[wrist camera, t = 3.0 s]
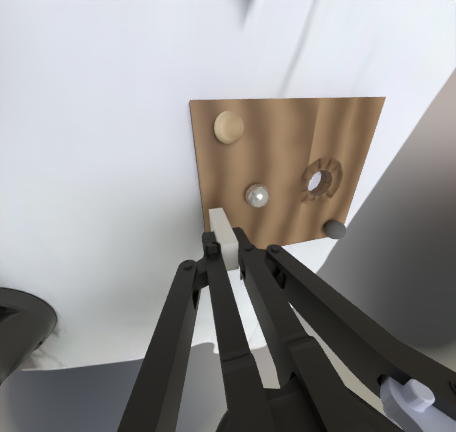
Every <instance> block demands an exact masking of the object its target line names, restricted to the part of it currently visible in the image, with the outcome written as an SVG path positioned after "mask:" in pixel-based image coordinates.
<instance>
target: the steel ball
mask: <svg viewBox="0 0 456 432" xmlns="http://www.w3.org/2000/svg"><path fill="white" fill-rule="evenodd" d="M269 199H270V192H269V190H268V188H267V187H266V186H264V185H262V184H254V185H252V186H250V187H249V188H248V190H247V192H246V200H247V202H248V204H249V205H251V206H252V207H256V208H260V207H263V206H265V205H266V204H267V203H268V201H269Z"/></svg>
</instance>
